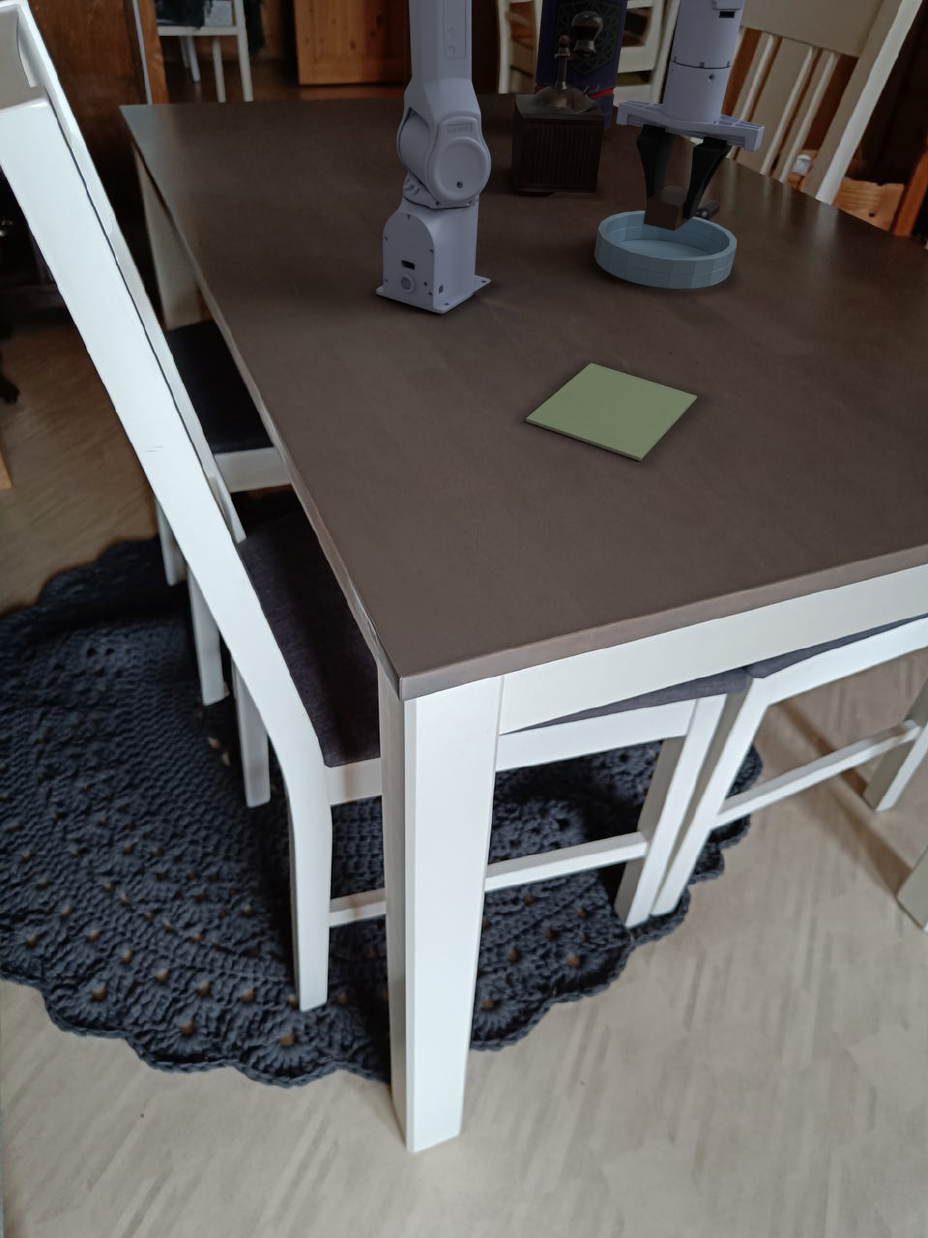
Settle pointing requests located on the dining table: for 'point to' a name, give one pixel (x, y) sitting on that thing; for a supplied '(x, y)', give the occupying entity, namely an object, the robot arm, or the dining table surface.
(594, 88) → the dark blue tall block
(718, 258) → the pan
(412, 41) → the robot arm
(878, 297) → the dining table surface
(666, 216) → the chocolate
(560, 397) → the cloth
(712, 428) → the dining table surface
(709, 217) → the pan handle
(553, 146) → the vintage coffee grinder
